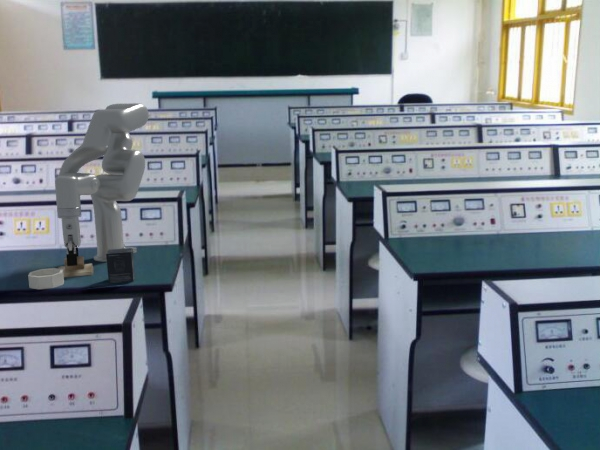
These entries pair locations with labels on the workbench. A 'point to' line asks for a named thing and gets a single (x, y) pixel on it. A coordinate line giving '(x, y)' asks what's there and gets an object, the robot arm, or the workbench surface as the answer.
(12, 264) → the workbench surface
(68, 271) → the beige plate with ridge
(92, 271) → the mat
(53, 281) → the bowl
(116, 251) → the box
